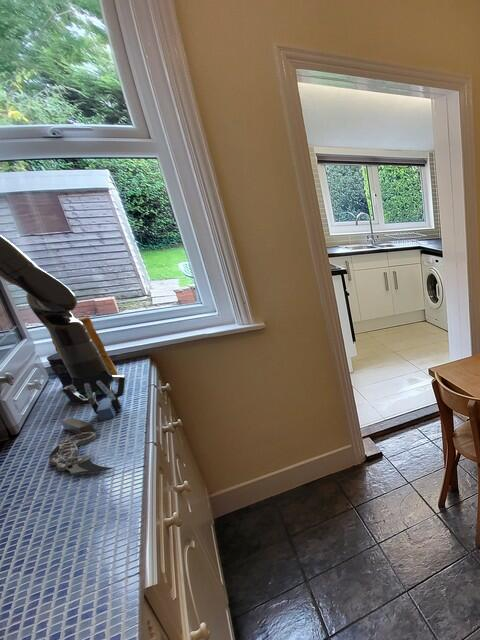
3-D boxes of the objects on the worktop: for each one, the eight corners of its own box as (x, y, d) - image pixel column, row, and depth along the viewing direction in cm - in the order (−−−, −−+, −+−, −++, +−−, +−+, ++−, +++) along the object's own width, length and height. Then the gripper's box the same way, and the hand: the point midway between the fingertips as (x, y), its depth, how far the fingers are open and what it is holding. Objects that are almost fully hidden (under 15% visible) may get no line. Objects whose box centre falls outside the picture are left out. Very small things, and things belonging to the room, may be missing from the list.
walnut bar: (95, 431, 111) (91, 423, 110) (83, 436, 109) (79, 427, 108) (76, 425, 115) (72, 417, 114) (65, 429, 113) (60, 421, 112)
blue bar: (114, 417, 118) (110, 408, 117) (100, 420, 117) (95, 411, 115) (118, 405, 126) (114, 396, 124) (105, 408, 124) (101, 399, 123)
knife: (114, 465, 93) (50, 485, 86) (116, 471, 93) (53, 491, 87) (99, 427, 110) (45, 441, 104) (101, 432, 111) (48, 446, 104)
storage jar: (73, 407, 126) (48, 361, 119) (67, 399, 131) (43, 355, 125) (115, 395, 133) (93, 351, 127) (108, 388, 138) (87, 346, 132)
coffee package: (70, 383, 143) (37, 323, 134) (116, 372, 152) (88, 314, 143) (73, 390, 137) (39, 327, 128) (121, 378, 146) (92, 318, 137)
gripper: (116, 348, 120) (141, 401, 127) (50, 360, 113) (80, 415, 120) (113, 355, 115) (139, 409, 122) (43, 368, 107) (75, 425, 115)
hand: (109, 412), depth 121 cm, fingers closed on blue bar, 3 cm apart
